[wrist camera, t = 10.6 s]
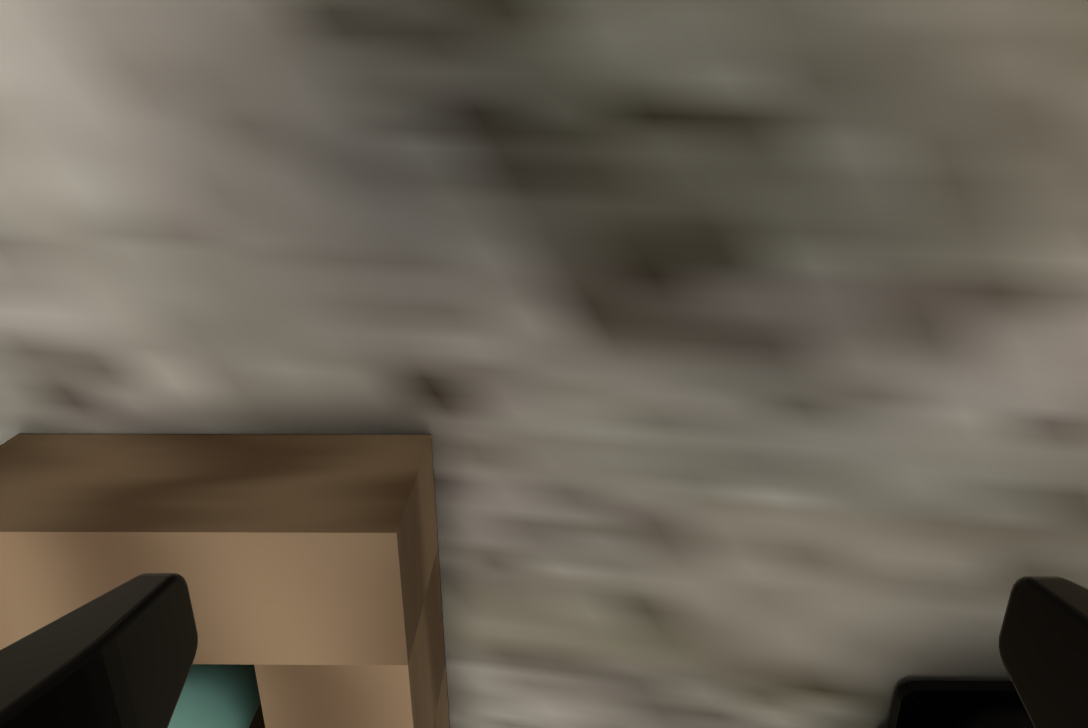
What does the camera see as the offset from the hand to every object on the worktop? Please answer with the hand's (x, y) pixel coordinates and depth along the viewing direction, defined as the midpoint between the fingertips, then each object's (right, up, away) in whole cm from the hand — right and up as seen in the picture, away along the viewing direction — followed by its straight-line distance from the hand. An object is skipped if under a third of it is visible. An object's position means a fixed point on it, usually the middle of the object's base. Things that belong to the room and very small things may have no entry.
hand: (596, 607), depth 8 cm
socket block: (-10, -5, +15) cm, 19 cm away
